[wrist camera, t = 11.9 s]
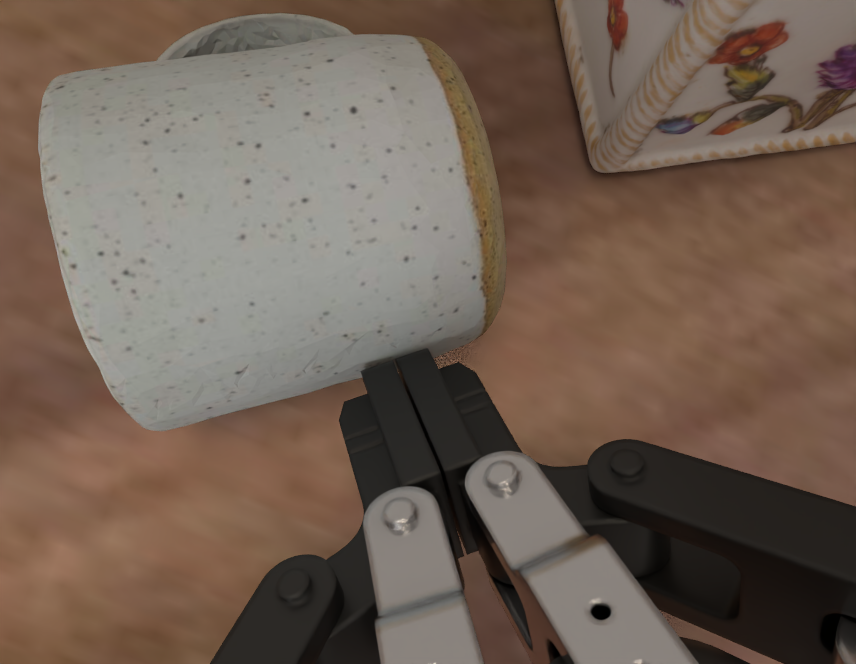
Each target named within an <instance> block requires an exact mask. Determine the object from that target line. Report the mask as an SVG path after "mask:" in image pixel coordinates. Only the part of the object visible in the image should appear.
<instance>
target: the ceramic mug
mask: <svg viewBox="0 0 856 664" xmlns="http://www.w3.org/2000/svg"><path fill="white" fill-rule="evenodd" d="M38 151H39V155H40V161H41V176H42V186H43V195H44V199H45V203H46V207H47V211H48V218H49V222H50V226H51V229H52V233H53V238H54V242H55V246H56V250H57V254H58V259H59V264H60V268H61V273H62V276H63V280H64V283H65V287H66V290H67V294H68V297H69V300H70V304H71V307H72V311H73V314H74V317H75V320H76V322H77V325H78V327H79V330H80V332H81V334H82V337H83V339H84V341H85V344H86V346H87V348H88V350H89V352H90V354H91V355H92V357H93V358H94V360H95V362H96V363H97V365H98V367H99V368H100V371H101V373H102V376H103V379H104V381H105V383H106V385H107V387H108V389H109V390H110V392H111V394H112V396H113V397H114V399H115V400H116V401H117V402H118V403H119V404H120V405H121V406H122V408H123V409H124V410H125V411H126V412H127V413H128V414H129V415H130V416H131V417H132V418H133V419H134V420H135V421H136V422H137V423H138V424H140V425H141V426H142V427H143V428H145V429H147V430H154V431H166V430H170V429H174V428H179V427H183V426H187V425H190V424H194V423H197V422H200V421H203V420H207V419H210V418H213V417H217V416H221V415H224V414H228V413H232V412H236V411H239V410H243V409H247V408H251V407H255V406H259V405H263V404H267V403H270V402H274V401H278V400H282V399H286V398H290V397H294V396H298V395H302V394H306V393H310V392H313V391H316V390H319V389H322V388H325V387H328V386H331V385H334V384H338V383H342V382H346V381H350V380H354V379H358V378H362V375H361V371H362V370H365V369H367V368H370V367H373V366H376V365H379V364H382V363H385V362H388V361H391V360H393V362H394V364H395V366H396V369H397V365H396V361H395V359H396V358H399V357H402V356H405V355H408V354H411V353H414V352H417V351H420V350H423V349H426V348H428V349H429V351H430V353H431V355H432V357H433V358H436V357H438V356H440V355H442V354H444V353H447V352H449V351H451V350H453V349H455V348H458V347H461V346H463V345H466V344H468V343H470V342H472V341H473V340H475V339H476V338H478V337H479V336H481V335H482V334H483V333H484V332H485V331H486V330H487V329H488V328H489V326H490V325H491V324H492V322H493V320H494V318H495V316H496V314H497V312H498V310H499V308H500V306H501V302H502V299H503V295H504V291H505V279H506V264H507V259H506V241H505V230H504V219H503V210H502V204H501V197H500V191H499V185H498V180H497V176H496V171H495V167H494V162H493V158H492V153H491V149H490V145H489V141H488V137H487V133H486V130H485V127H484V125H483V122H482V119H481V116H480V114H479V111H478V108H477V105H476V103H475V100H474V98H473V96H472V94H471V91H470V89H469V87H468V85H467V82H466V80H465V78H464V76H463V74H462V72H461V70H460V69H459V67H458V66H457V65H456V63H455V62H454V60H453V59H452V58H451V57H450V56H449V55H447V54H446V53H445V52H444V51H443V50H442V49H441V48H440V47H439V46H438V45H436V44H435V43H433V42H431V41H430V40H428V39H426V38H424V37H415V36H406V35H385V34H360V35H354V34H353V33H352V32H351V31H349V30H348V29H347V28H345V27H343V26H341V25H338V24H335V23H333V22H330V21H327V20H325V19H321V18H316V17H312V16H307V15H299V14H286V13H275V14H256V15H247V16H239V17H234V18H229V19H225V20H222V21H219V22H216V23H213V24H210V25H207V26H204V27H202V28H199V29H197V30H195V31H193V32H191V33H189V34H187V35H185V36H183V37H182V38H180V39H179V40H177V41H176V42H175V43H173V44H172V45H171V46H170V47H169V48H168V49H167V50H166V51H165V52H164V53H163V54H162V55H161V56H160V57H159V58H158V59H157V60H156V61H152V62H143V63H135V64H128V65H121V66H114V67H107V68H100V69H92V70H84V71H77V72H73V73H69V74H64V75H60V76H57V77H56V78H55V79H53V80H52V81H51V82H50V83H49V85H48V87H47V89H46V91H45V93H44V96H43V99H42V107H41V112H40V118H39V138H38Z"/></svg>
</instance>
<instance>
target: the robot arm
mask: <svg viewBox="0 0 856 664" xmlns="http://www.w3.org/2000/svg"><path fill="white" fill-rule="evenodd" d="M395 361H396V365H397V369H398V371H397V369H396V366H395V364H394V362H393V360H391V361H388V362H385V363H382V364H379V365H376V366H373V367H370V368H367V369H365V370H362V371H361V375H362V378H363V381H364V384H365V387H366V390H367V393H368V394H366V395H363V396H360V397H357V398H354V399H351V400H348V401H345V402H344V404H343V408H342V412H341V415H340V419H339V422H340V426H341V429H342V433H343V437H344V440H345V444H346V447H347V451H348V454H349V458H350V461H351V465H352V468H353V472H354V475H355V479H356V482H357V486H358V489H359V493H360V496H361V500H362V503H363V508H364V518H363V522H362V525H361V527H360V529H359V531H358V533H357V534H356V536H355V537H354V538H353V539H352V540H351V541H350V543H349V544H348V545H346V546H345V547H344V548H343V549H341V550H340V551H338V552H337V553H336V554H334V555H333V556H331V557H330V558H329V559H327V560H325V559H323V558H321V557H319V556H316V555H298V556H294V557H291V558H288V559H286V560H284V561H282V562H281V563H279V564H278V565H276V566H275V567H274V568H272V569H271V570H270V571H269V572H268V573H267V574H266V576H265V577H264V578H263V580H262V581H261V583H260V584H259V586H258V588H257V589H256V591H255V592H254V594H253V596H252V597H251V599H250V600H249V602H248V604H247V605H246V607H245V608H244V610H243V611H242V613H241V615H240V616H239V618H238V619H237V621H236V623H235V624H234V626H233V627H232V629H231V631H230V632H229V634H228V635H227V637H226V639H225V640H224V642H223V643H222V645H221V647H220V648H219V650H218V651H217V653H216V655H215V656H214V658H213V659H212V661H211V663H210V664H485V663H484V660H483V656H482V653H481V650H480V646H479V643H478V639H477V636H476V632H475V629H474V625H473V622H472V619H471V615H470V612H469V608H468V605H467V601H466V598H465V594H464V587H465V586H464V579H463V575H462V572H461V568H460V565H459V561H458V558H460V557H463V556H464V554H463V550H462V547H461V543H460V540H459V536H460V538H461V540H462V543H463V545H464V548H465V550H466V553H467V554H470V553H473V552H475V551H478V550H479V552H480V554H481V557H482V559H483V561H484V564H485V566H486V570H487V574H488V578H489V582H490V584H491V587H492V589H493V591H494V592H495V594H496V596H497V598H498V600H499V602H500V604H501V605H502V607H503V609H504V611H505V613H506V615H507V617H508V619H509V620H510V622H511V624H512V626H513V628H514V630H515V632H516V633H517V635H518V637H519V639H520V641H521V643H522V645H523V647H524V648H525V650H526V652H527V654H528V656H529V658H530V660H531V662H532V664H750V663H748V662H746V661H743V660H741V659H739V658H737V657H735V656H733V655H731V654H729V653H727V652H725V651H723V650H720V649H718V648H716V647H713V646H711V645H708V644H705V643H702V642H699V641H696V640H691V639H687V638H683V637H679V636H678V635H677V634H676V632H675V631H674V630H673V628H672V627H671V626H670V624H669V623H668V622H667V620H666V619H665V618H664V616H663V615H662V614H661V612H660V611H659V610H661V611H664V612H666V613H668V614H671V615H673V616H675V617H678V618H680V619H682V620H684V621H687V622H689V623H691V624H694V625H696V626H698V627H701V628H703V629H705V630H708V631H710V632H712V633H714V634H717V635H719V636H721V637H724V638H726V639H728V640H731V641H733V642H735V643H737V644H740V645H742V646H744V647H747V648H749V649H751V650H754V651H756V652H758V653H761V654H763V655H765V656H767V657H770V658H772V659H774V660H777V661H779V662H781V663H784V664H856V507H855V506H852V505H849V504H846V503H842V502H839V501H836V500H833V499H829V498H826V497H823V496H819V495H816V494H813V493H810V492H806V491H803V490H800V489H797V488H793V487H790V486H787V485H783V484H780V483H777V482H774V481H770V480H767V479H764V478H761V477H757V476H754V475H751V474H747V473H744V472H741V471H738V470H734V469H731V468H728V467H725V466H721V465H718V464H715V463H711V462H708V461H705V460H702V459H698V458H695V457H692V456H689V455H685V454H682V453H679V452H675V451H672V450H669V449H666V448H662V447H659V446H656V445H653V444H649V443H646V442H643V441H638V440H631V439H622V440H616V441H612V442H609V443H606V444H604V445H602V446H601V447H599V448H598V449H596V450H595V451H594V452H593V454H592V455H591V456H590V458H589V460H588V464H587V465H580V466H569V467H551V466H546V465H542V464H539V463H537V462H535V461H534V460H533V459H531V458H530V457H529V456H527V455H525V454H523V453H522V451H521V450H520V449H519V447H518V445H517V443H516V442H515V440H514V438H513V437H512V435H511V433H510V431H509V430H508V428H507V426H506V424H505V423H504V421H503V419H502V417H501V416H500V414H499V412H498V410H497V409H496V407H495V405H494V404H493V403H492V400H491V398H490V397H489V395H488V393H487V391H485V388H484V386H483V384H482V383H481V381H480V379H479V378H478V376H477V374H476V373H475V372H474V371H472V370H470V369H469V368H467V367H466V366H464V365H462V364H461V363H459V362H458V363H455V364H452V365H449V366H446V367H443V368H440V369H438V367H437V365H436V363H435V361H434V359H433V357H432V355H431V353H430V351H429V349H428V348H426V349H423V350H420V351H417V352H414V353H411V354H408V355H405V356H402V357H399V358H396V359H395ZM398 372H399V373H398ZM456 528H457V529H456ZM457 531H458V533H459V536H458V533H457ZM658 609H659V610H658Z"/></svg>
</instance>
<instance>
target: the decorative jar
mask: <svg viewBox="0 0 856 664" xmlns="http://www.w3.org/2000/svg"><path fill="white" fill-rule="evenodd" d="M555 6H556V10H557V16H558V20H559V23H560V30H561V37H562V42H563V47H564V50H565V56H566V59H567V64H568V67H569V73H570V76H571V82H572V87H573V91H574V95H575V98H576V102H577V106H578V110H579V114H580V120H581V124H582V130H583V134H584V138H585V141H586V147H587V152H588V155H589V160H590V163H591V165H592V167H593V169H594V170H596V171H598V172H602V173H614V172H624V171H637V170H648V169H654V168H660V167H667V166H674V165H681V164H687V163H694V162H701V161H708V160H717V159H724V158H737V157H746V156H750V155H755V154H765V153H776V152H783V151H795V150H800V149H807V148H814V147H824V146H829V145H839V144H846V143H854V142H856V0H555Z"/></svg>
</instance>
